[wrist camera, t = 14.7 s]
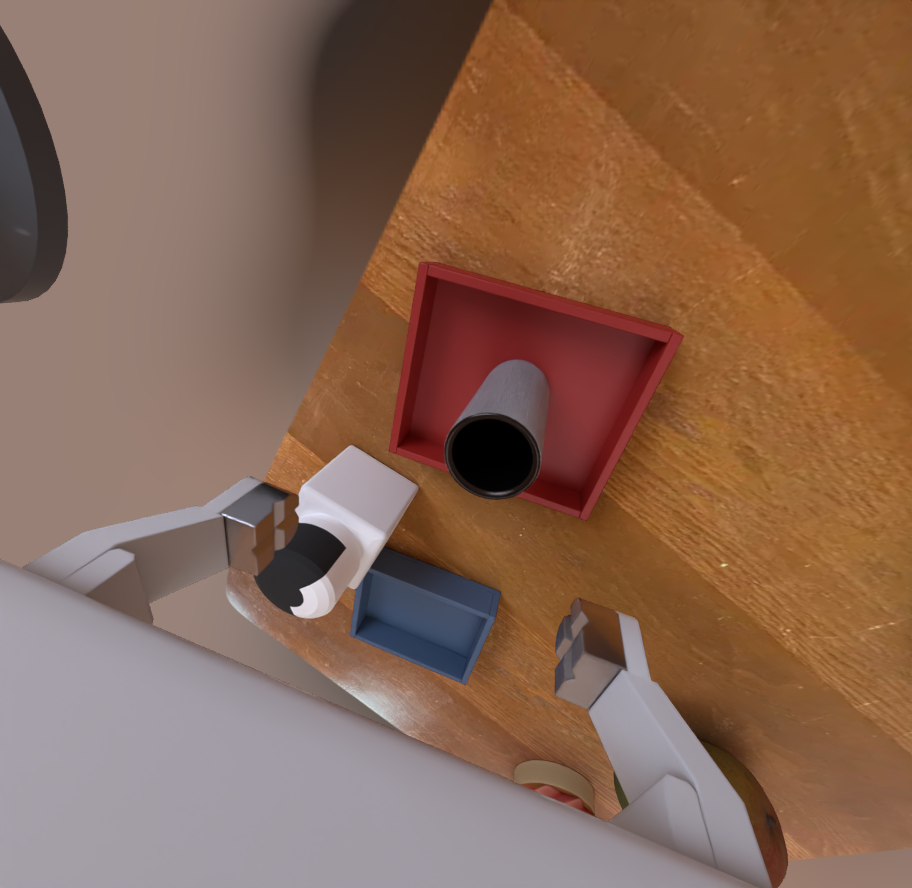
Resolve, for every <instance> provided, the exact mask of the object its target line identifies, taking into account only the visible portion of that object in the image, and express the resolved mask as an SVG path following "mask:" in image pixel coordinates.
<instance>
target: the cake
mask: <svg viewBox="0 0 912 888" xmlns="http://www.w3.org/2000/svg"><path fill="white" fill-rule="evenodd" d="M513 781H514V782H516V783H518V784H521V785H523V786H525V787H528V788H530V789H532V790H535V791H537V792H539V793H542V794H544V795H546V796H548V797H551V798H553V799H555V800H558V801H560V802H562V803H565V804H567V805H569V806H572V807H574V808H576V809H579V810H581V811H583V812H585V813H588V814H590V815H592V816H595V811H594V791H593V788H592V786H591V785H590V783H589V782H588V781H587V780H586V779H585V778H584V777H583V776H582V775H580V774H579V773H577V772H575V771H574V770H572V769H570V768H568V767H565V766H562V765H560V764H557V763H553V762H548V761H542V760H531V761H526V762H522V763H521V764H519V765H518V766H517V767H516V769H515V771H514V779H513Z"/></svg>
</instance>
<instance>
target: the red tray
mask: <svg viewBox="0 0 912 888" xmlns="http://www.w3.org/2000/svg"><path fill="white" fill-rule="evenodd" d="M683 337H684V336H683V335H682V334H680V333H679V332H677V331H676V330H674V329H672V328H671V327H668V326H665V325H661V324H657V323H654V322H650V321H647V320H643V319H639V318H636V317H632V316H629V315H625V314H621V313H618V312H614V311H610V310H607V309H603V308H600V307H596V306H592V305H589V304H585V303H582V302H578V301H574V300H571V299H567V298H563V297H560V296H556V295H553V294H549V293H545V292H542V291H538V290H535V289H531V288H527V287H524V286H520V285H516V284H513V283H509V282H506V281H502V280H498V279H495V278H491V277H488V276H484V275H480V274H477V273H473V272H470V271H466V270H462V269H459V268H455V267H451V266H448V265H444V264H441V263H437V262H420V263H419V267H418V274H417V280H416V286H415V292H414V298H413V304H412V311H411V317H410V323H409V329H408V335H407V341H406V348H405V354H404V360H403V366H402V372H401V378H400V385H399V391H398V397H397V403H396V409H395V415H394V422H393V428H392V434H391V440H390V446H389V452H392V453H395V454H397V455H400V456H403V457H406V458H409V459H412V460H414V461H417V462H420V463H423V464H426V465H429V466H432V467H434V468H437V469H440V470H443V471H446V472H449V470H448V468H447V466H446V463H445V458H444V445H445V441H446V438H447V435H448V433H449V432H450V430H451V428H452V427H453V425H454V424H455V423H456V421H457V420H458V418H459V417H460V415H461V414H462V412H463V411H464V410H465V408H466V407H467V405H468V404H469V402H470V401H471V399H472V398H473V397H474V395H475V394H476V392H477V391H478V389H479V388H480V386H481V385H482V384H483V382H484V381H485V379H486V378H487V376H488V375H489V374H490V372H491V371H492V370H493V369H494V368H495V367H497V366H498V365H499V364H501V363H503V362H506V361H509V360H525V361H528V362H531V363H533V364H534V365H536V366H537V367H539V368H540V369H541V370H542V371H543V373H544V374H545V376H546V378H547V380H548V383H549V389H550V398H549V406H548V414H547V422H546V430H545V438H544V446H543V454H542V461H541V467H540V471H539V474H538V476H537V478H536V480H535V481H534V483H533V484H532V485H531V486H530V487H529V488H528V489H527V490H525V491H524V492H523V493H521V494H519V495H517V497H520V498H523V499H526V500H528V501H531V502H534V503H537V504H540V505H543V506H545V507H548V508H551V509H554V510H557V511H560V512H563V513H565V514H568V515H571V516H574V517H577V518H578V517H579V518H580V519H582V520H585V521H587V519H588V517H589V515H590V513H591V511H592V510H593V508H594V506H595V504H596V502H597V500H598V498H599V496H600V494H601V493H602V491H603V489H604V487H605V485H606V483H607V481H608V479H609V477H610V475H611V474H612V472H613V470H614V468H615V466H616V464H617V462H618V460H619V458H620V457H621V455H622V453H623V451H624V449H625V447H626V445H627V443H628V441H629V440H630V438H631V436H632V434H633V432H634V430H635V428H636V426H637V424H638V423H639V421H640V419H641V417H642V415H643V413H644V411H645V409H646V407H647V405H648V404H649V402H650V400H651V398H652V396H653V394H654V392H655V390H656V388H657V387H658V385H659V383H660V381H661V379H662V377H663V375H664V373H665V371H666V370H667V368H668V366H669V364H670V362H671V360H672V358H673V356H674V354H675V353H676V351H677V349H678V347H679V345H680V343H681V341H682V339H683ZM449 473H450V472H449Z"/></svg>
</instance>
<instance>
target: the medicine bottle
mask: <svg viewBox="0 0 912 888" xmlns="http://www.w3.org/2000/svg"><path fill="white" fill-rule="evenodd" d="M418 489H419V487H418V486H417V485H416V484H415V483H413V482H411V481H410V480H408V479H407V478H405V477H403V476H402V475H400V474H399V473H397V472H395V471H394V470H392V469H390V468H389V467H387V466H386V465H384V464H382V463H381V462H379V461H378V460H376V459H374V458H373V457H371V456H370V455H368V454H366V453H365V452H363V451H361V450H360V449H358V448H357V447H355V446H353V445H351V446H349V447H347V448H346V449H345V450H344V451H343V452H341V453H340V454H339V455H338V456H337V457H336V458H334V459H333V460H332V461H331V462H330V463H328V464H327V465H326V466H325V467H324V468H323V469H321V470H320V471H319V472H318V473H317V474H315V475H314V476H313V477H312V478H311V479H310V480H308V481H307V482H306V483H305V484H304V485H303V486H302V487H301V490H300V492H299V495H298V496H299V506H298V507H297V508H296V509H295V511H296V513H297V515H298V516H299V524H298V528H297V531H296V533H295V535H294V537H293V538H292V540H291V541H290V542H289V543H288V545H287V546H286V547H285V548H282V549H279V550H277V551H274V559H273V560H272V561H271V562H270V563H269V564H268V566H267V567H266V568H265V569H264V570H263V571H262V572H261V573H260V574H259V575H258V576H255V575H254V577H255V581H256V583H257V585H258V587H259V588H260V590H261V591H262V593H263V594H264V595H265V596H266V597H267V598H268V599H269V600H270V601H271V602H272V603H273V604H274V605H276V606H277V607H278V608H280V609H282V610H283V611H285V612H287V613H289V614H291V615H294V616H297V617H301V618H317V617H321V616H324V615H326V614H328V613H329V612H330V611H331V610H332V609H333V607H334V606H335V604H336V603H337V601H338V600H339V598H340V597H341V595H342V594H343V592H344V591H345V589H346V588H347V587H349V588H351V589H356V588H357V587H358V586H359V584H360V583H361V581H362V580H363V578H364V576H365V575H366V573H367V572H368V570H369V569H370V567H371V566H372V564H373V562H374V561H375V559H376V558H377V556H378V555H379V553H380V552H381V550H382V549H383V547H384V545H385V544H386V542H387V541H388V539H389V538H390V536H391V534H392V533H393V531H394V530H395V528H396V526H397V525H398V523H399V521H400V520H401V518H402V516H403V515H404V513H405V511H406V510H407V508H408V506H409V505H410V503H411V502H412V500H413V498H414V497H415V495H416V493H417V492H418Z"/></svg>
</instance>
